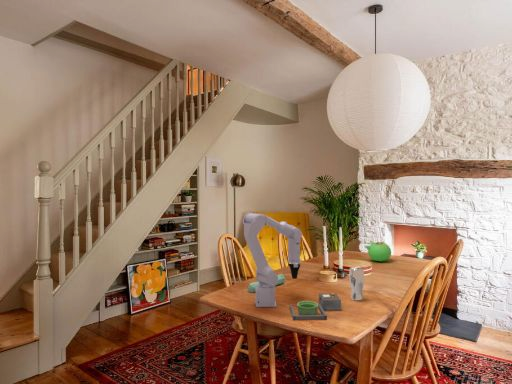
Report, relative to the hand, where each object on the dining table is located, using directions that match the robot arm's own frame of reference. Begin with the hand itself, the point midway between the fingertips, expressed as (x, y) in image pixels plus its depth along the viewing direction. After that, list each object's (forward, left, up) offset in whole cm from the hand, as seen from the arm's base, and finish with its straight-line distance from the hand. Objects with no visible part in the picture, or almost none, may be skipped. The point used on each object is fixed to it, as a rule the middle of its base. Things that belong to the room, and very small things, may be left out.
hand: (294, 278), depth 170 cm
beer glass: (+30, -4, -10) cm, 32 cm away
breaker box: (+15, -14, -9) cm, 22 cm away
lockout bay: (+3, -23, -9) cm, 25 cm away
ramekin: (+3, -23, -10) cm, 25 cm away
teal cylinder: (-14, +17, -10) cm, 24 cm away
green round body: (+71, +80, -10) cm, 107 cm away
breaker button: (+13, -14, -7) cm, 20 cm away
